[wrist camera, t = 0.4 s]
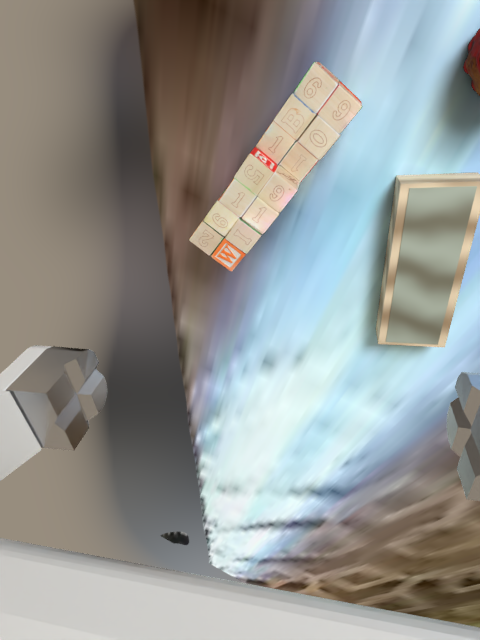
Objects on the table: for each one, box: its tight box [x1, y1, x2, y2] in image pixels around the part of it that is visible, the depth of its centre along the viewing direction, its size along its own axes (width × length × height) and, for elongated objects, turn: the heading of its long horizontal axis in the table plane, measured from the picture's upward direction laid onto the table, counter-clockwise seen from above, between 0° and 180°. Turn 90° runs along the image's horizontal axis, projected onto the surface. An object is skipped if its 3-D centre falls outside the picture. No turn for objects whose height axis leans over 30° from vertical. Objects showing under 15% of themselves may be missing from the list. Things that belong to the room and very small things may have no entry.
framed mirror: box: [376, 173, 480, 347], centre depth 51 cm, size 23×9×4 cm, turn 5°
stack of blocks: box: [189, 62, 362, 271], centre depth 44 cm, size 21×6×12 cm, turn 144°
